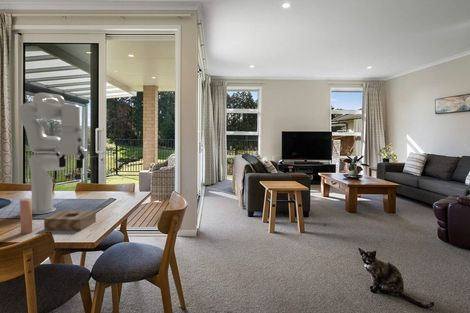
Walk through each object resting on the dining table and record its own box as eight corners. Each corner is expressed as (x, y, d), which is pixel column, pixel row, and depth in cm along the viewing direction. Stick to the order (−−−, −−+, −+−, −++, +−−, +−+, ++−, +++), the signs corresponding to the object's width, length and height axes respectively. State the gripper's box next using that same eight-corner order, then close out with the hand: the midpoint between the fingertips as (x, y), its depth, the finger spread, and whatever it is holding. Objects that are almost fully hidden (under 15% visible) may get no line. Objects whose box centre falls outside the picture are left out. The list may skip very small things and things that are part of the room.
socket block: (44, 229, 128) (44, 218, 128) (62, 220, 142) (62, 210, 142) (80, 230, 128) (80, 219, 128) (95, 221, 142) (95, 211, 142)
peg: (18, 234, 122) (17, 201, 121) (25, 231, 126) (24, 199, 125) (27, 234, 122) (27, 201, 121) (34, 231, 126) (33, 199, 125)
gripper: (92, 131, 136) (92, 167, 138) (62, 130, 141) (62, 166, 142) (79, 131, 129) (80, 169, 130) (48, 130, 134) (49, 167, 135)
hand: (70, 167), depth 136 cm, fingers open, 9 cm apart
